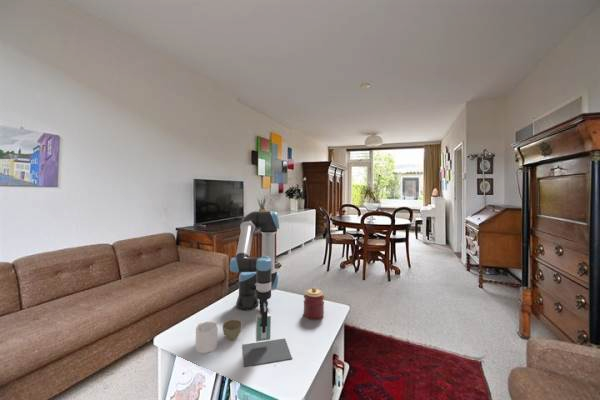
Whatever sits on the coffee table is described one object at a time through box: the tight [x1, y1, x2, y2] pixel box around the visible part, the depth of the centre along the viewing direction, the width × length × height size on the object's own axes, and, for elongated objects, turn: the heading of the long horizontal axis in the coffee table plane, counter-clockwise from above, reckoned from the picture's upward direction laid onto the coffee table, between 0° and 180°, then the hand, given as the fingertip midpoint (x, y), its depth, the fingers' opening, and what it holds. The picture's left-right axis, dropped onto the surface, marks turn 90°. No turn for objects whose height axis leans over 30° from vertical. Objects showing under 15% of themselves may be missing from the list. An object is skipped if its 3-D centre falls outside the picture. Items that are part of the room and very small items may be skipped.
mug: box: [195, 321, 218, 354], centre depth 122 cm, size 13×10×10 cm
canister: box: [303, 286, 325, 321], centre depth 155 cm, size 13×13×18 cm
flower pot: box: [222, 319, 243, 341], centre depth 130 cm, size 10×10×7 cm
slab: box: [255, 312, 272, 343], centre depth 123 cm, size 3×7×12 cm, turn 106°
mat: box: [242, 338, 293, 368], centre depth 118 cm, size 16×22×1 cm
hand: (263, 335), depth 123 cm, fingers closed on slab, 3 cm apart
